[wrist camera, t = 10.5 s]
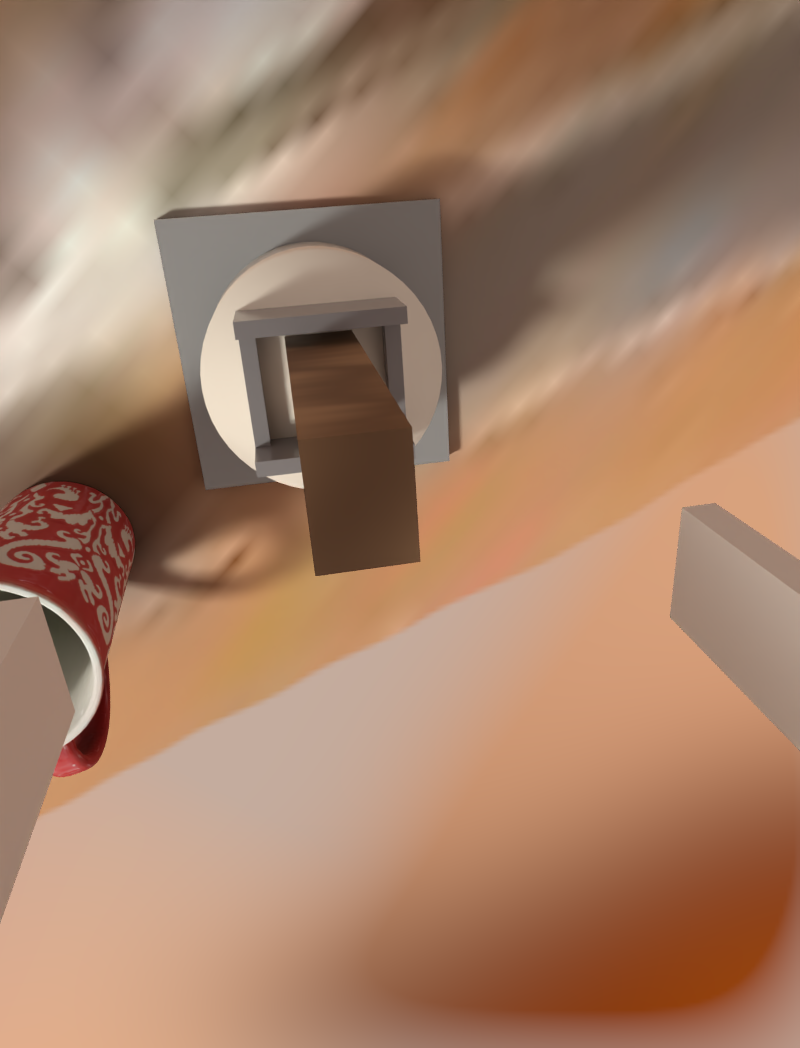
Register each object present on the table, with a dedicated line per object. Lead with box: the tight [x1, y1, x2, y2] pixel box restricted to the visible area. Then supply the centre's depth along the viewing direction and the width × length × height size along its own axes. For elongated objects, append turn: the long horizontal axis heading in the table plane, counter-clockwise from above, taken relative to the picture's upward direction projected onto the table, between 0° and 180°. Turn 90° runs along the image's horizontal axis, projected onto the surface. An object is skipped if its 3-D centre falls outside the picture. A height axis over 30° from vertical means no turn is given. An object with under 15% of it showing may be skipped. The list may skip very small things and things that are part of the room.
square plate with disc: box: [154, 199, 449, 490], centre depth 35 cm, size 14×14×10 cm
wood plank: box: [284, 330, 420, 576], centre depth 26 cm, size 3×4×15 cm
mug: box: [0, 482, 135, 777], centre depth 36 cm, size 13×9×14 cm
